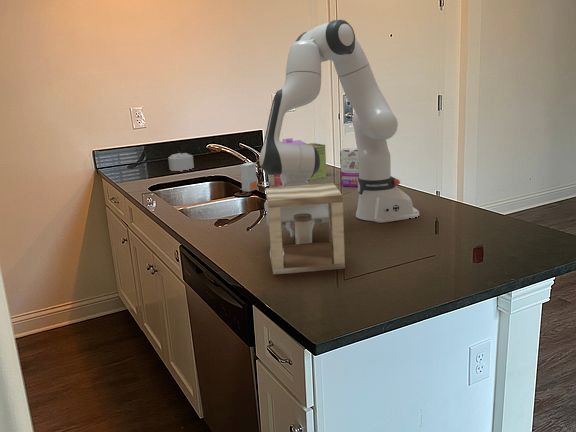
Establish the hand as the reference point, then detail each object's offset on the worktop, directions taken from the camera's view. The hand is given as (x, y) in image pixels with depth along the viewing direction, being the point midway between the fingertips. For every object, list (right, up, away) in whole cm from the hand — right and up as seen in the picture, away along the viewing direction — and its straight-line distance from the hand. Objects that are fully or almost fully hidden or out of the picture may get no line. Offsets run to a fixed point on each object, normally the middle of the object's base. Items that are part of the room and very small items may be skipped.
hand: (301, 235), depth 177 cm
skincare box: (-21, +17, +85) cm, 89 cm away
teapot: (-3, +34, +140) cm, 144 cm away
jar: (+1, -5, -5) cm, 7 cm away
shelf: (+1, -7, -7) cm, 10 cm away
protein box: (+5, +24, +103) cm, 106 cm away
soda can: (-6, +15, +72) cm, 74 cm away
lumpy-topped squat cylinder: (-62, +31, +142) cm, 158 cm away
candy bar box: (+25, +19, +81) cm, 87 cm away
